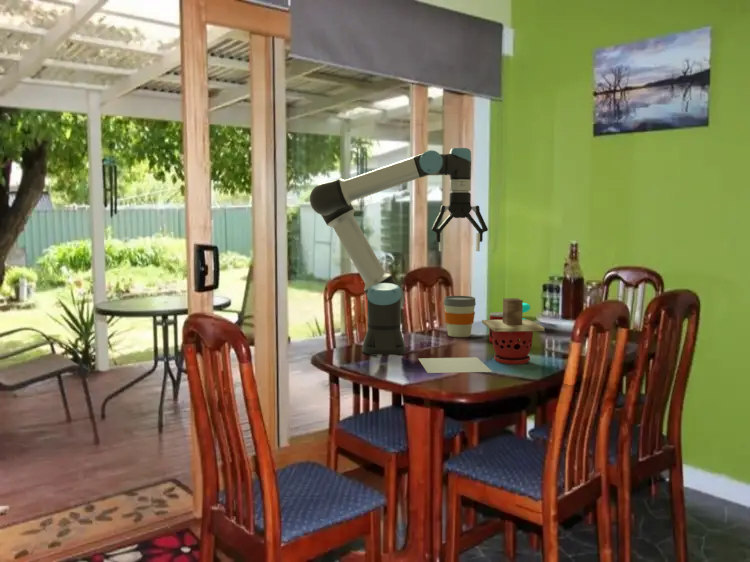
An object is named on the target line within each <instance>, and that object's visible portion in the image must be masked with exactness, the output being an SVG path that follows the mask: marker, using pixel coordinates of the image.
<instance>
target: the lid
mask: <svg viewBox="0 0 750 562" xmlns="http://www.w3.org/2000/svg"><path fill="white" fill-rule="evenodd" d="M523 301H524V300H523V299H520V298H518V297H516V298H515V297H513V298H512V297H510V298H508V297H507V298H502V312H503V320H490V319H482V320H481V324H483V325H484V326H486V327H488V328H490V329H492V330H493V331H495V332H499V331H533V332H545V327H544V326H542V325H540V324H538V323H536V322H534V321H532V320H531V319H527V318H525V319H522V318H523V313H522V310H523V303H524V302H523Z"/></svg>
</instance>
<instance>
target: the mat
mask: <svg viewBox="0 0 750 562" xmlns="http://www.w3.org/2000/svg"><path fill="white" fill-rule="evenodd" d="M417 359H418V361H419V362H420V363H421V365H422V367H423V368H424V370H425V372H427V374H443V373H444V374H445V373H447V374H448V373H449V374H452V373H453V374H454V373H492V372H493V371H492V370H491V369H490V368H489V367H488V366H487V365H486V364H485V363H484V362H483V361H482V360H480V359H479V358H478V357H477V356H476V357H475V356H474V357H427V358H426V357H424V358H423V357H422V358H421V357H420V358H417Z"/></svg>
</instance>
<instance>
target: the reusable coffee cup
mask: <svg viewBox="0 0 750 562" xmlns="http://www.w3.org/2000/svg"><path fill="white" fill-rule="evenodd" d="M476 304H477V303H476V297H474V296H469V295H448V296H444V300H443V306H444V311H443V312H444V318H445V319H444V320H445V321H444V322H445V323H446V329H447V331H446V332H447V335H448V336H449V337H452V338H453V337H454V338H468V337H470V336H471V335H472V329H473V328H472V327H473V324H474V322H475V320H474V319H475V316H476V315H475V314H476V311H475V307H476Z"/></svg>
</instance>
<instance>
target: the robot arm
mask: <svg viewBox="0 0 750 562" xmlns="http://www.w3.org/2000/svg"><path fill="white" fill-rule="evenodd" d="M427 176H449V192H450V193H449V201H448V202H449V204H448V205H443V204H442V205H441V206H440V209H439V210H440V211H439V213H438V215H437V217H436V218H435V221H434V222H433V225H432V227H431V231H432V232H434V233H435V237H436V238H435V241H436V242H437V243H438V252H443V234H444V233H443V230H444V228H445V227H446V226H447V225H448V224H449V223H450V222H451V220H452V219H453V218H454V219H465V218H466V219H467V220H468V221H469V222H470V224H471V225H472V226H473V228H475V230H476V233H475V251H476V252H480V251H481V250H480V248H481V247H480V246H481V243H482V242H483V237H484V235H483V234H484V233H485V232H488V230H489V228H488V226H487V225H486V222H485V220H484V218H483V216H482V214H481V211H480V206H479V205H474V206H473V205H472V204H471V203H472V202H471V199H472V198H471V197H472V196H471V195H472V194H471V190H472V188H471V187H472V186H471V185H472V181H471V180H472V151H471V149H470V148H468V147H454V148H451V149H450V151H449V153H440V152H438V151H436V150H433V149H430V150H426V151H424V152H423V153H420V154H418V155H415V156H412V157H409V158H406V159H403V160H399V161H397V162H394V163H391V164H389V165H385V166H382V167H380V168H377V169H373V170H372V171H371V170H370V171H368V172H365V173H362V174H360V175H357V176H354V177H350V178H348V179H343V178H339V179H336V180H332V181H327V182H322V183H319V184H317V185H316V186H315V187H314V188H313V189H312V190H311V192H310V195H309V203H310V206H311V208H312V210H313V211H314V212H315V213H317V214H318V215H320V216H321V218H322V219H323V220H324V222H325V224H326V226H327V227H331V228H332V229H333V231H334V232H335V233H336V235H337V237H338V239H339V241H340V242H341V243H342V246H343V248H344V249H345V251H346V253H347V255H348V256H349V259H350V260H351V261H352V263H353V265H354V267H355V269H356V270H357V271H358V273H359V276H360V277H361V279H362V281H363V282H364V287H363V288H364V289H363V291H364V292H365V294H366V298H367V327H366V328H367V330H366V333H365V336H364V338H363V339H364V340H363V343H362V348H361V349H362V353H363V354H367V355H371V356H379V355H380V356H388V355H389V356H392V355H400V354H403V353H405V352H406V343H405V340H404V337H403V334H402V329H401V325H402V324H401V321H402V320H401V317H402V316H401V315H402V314H401V310H402V309H403V307H404V305H405V293H404V290H403V289H402V288H401V287H400V285H398V283H397V282H396V280H395V278H394V277H393V275H392V273H388V272H386V271H385V269H384V267H383V266H382V263H381V262H380V261H379V258H378V256H377V255H376V253H375V252H374V249H372V246H371V245H370V242H369V240H368V239H367V238H366V235H365V234H364V232H363V231H362V229H361V227H360V226H359V224H358V222H357V220H356V218H355V217H354V215H355V208H354V206H353V204H352V202H353V201H357V200H360V199H362V198H365V197H368V196H371V195H374V194H376V193H380V192H383V191H386V190H389V189H391V188H394V187H398V186H400V185H403V184H406V183H409V182H412V181H415V180H418V179H421V178H424V177H427ZM447 210H448V211H449V215H447V217H446V218H445V220H444V221H442V223H441V220H442V218H443V217H444V215H445V213H446V212H447ZM471 211H473V212H474V213H475V216H476V218H477V220H478V222H479V224H480V225H479V224H478V222H476V220H475V219H474V218H473V216H472V214H470V213H471ZM440 223H441V224H440ZM439 224H440V225H439Z"/></svg>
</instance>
